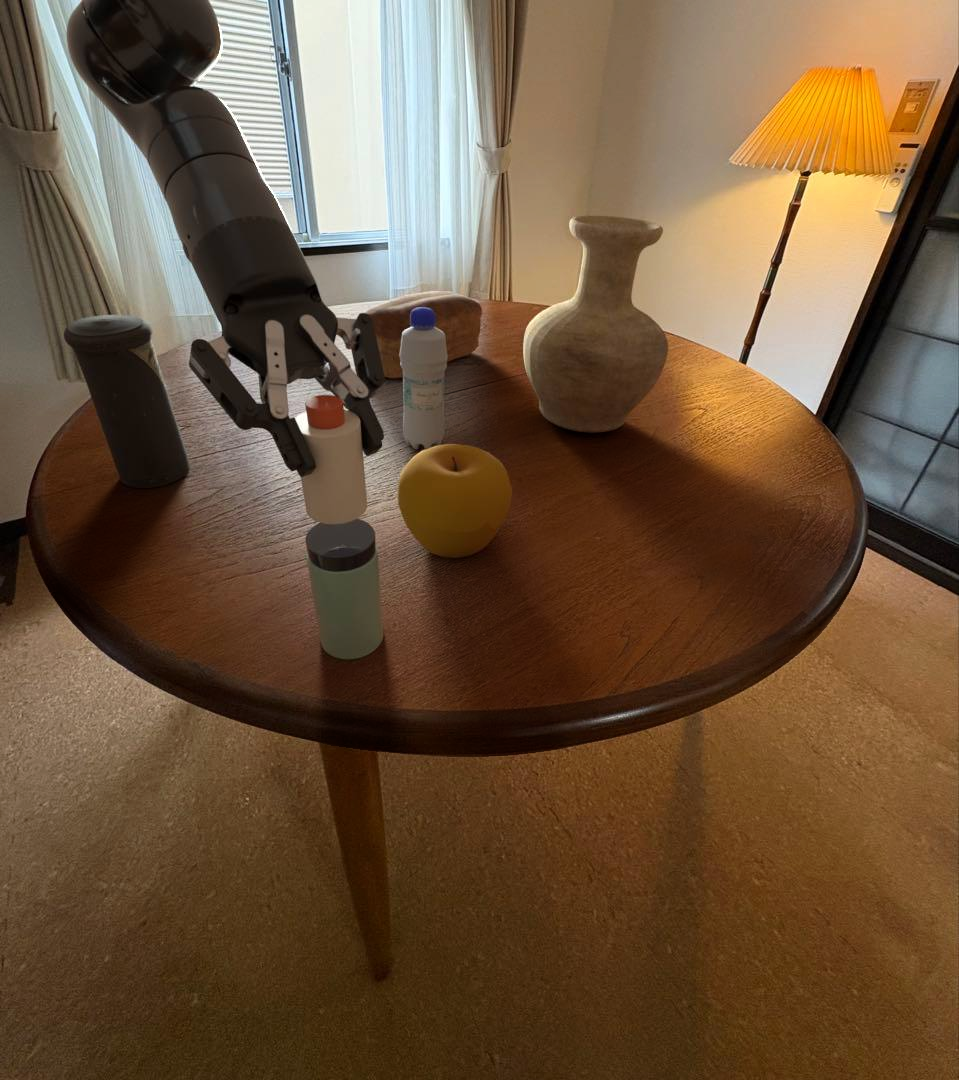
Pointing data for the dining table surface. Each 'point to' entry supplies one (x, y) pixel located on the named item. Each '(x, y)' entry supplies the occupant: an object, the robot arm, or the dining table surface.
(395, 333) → the bread
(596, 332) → the vase
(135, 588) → the dining table surface
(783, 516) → the dining table surface
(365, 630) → the celadon jar
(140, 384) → the container
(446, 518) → the apple
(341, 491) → the cream bottle
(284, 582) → the dining table surface
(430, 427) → the bottle
